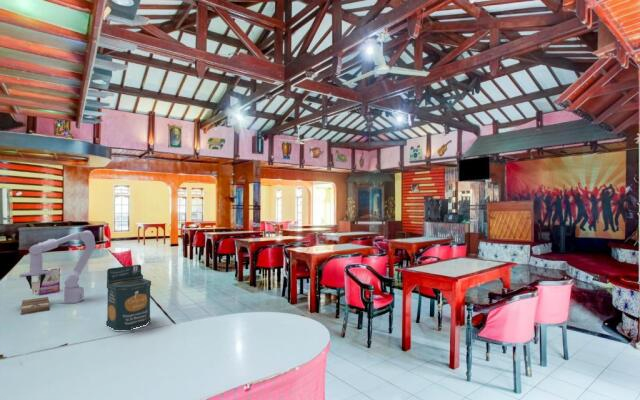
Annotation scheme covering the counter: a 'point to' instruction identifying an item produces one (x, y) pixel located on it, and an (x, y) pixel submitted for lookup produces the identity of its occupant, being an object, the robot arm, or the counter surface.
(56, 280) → the candy bar box
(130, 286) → the donation box
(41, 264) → the robot arm
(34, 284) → the plug
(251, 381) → the counter surface
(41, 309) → the socket board
